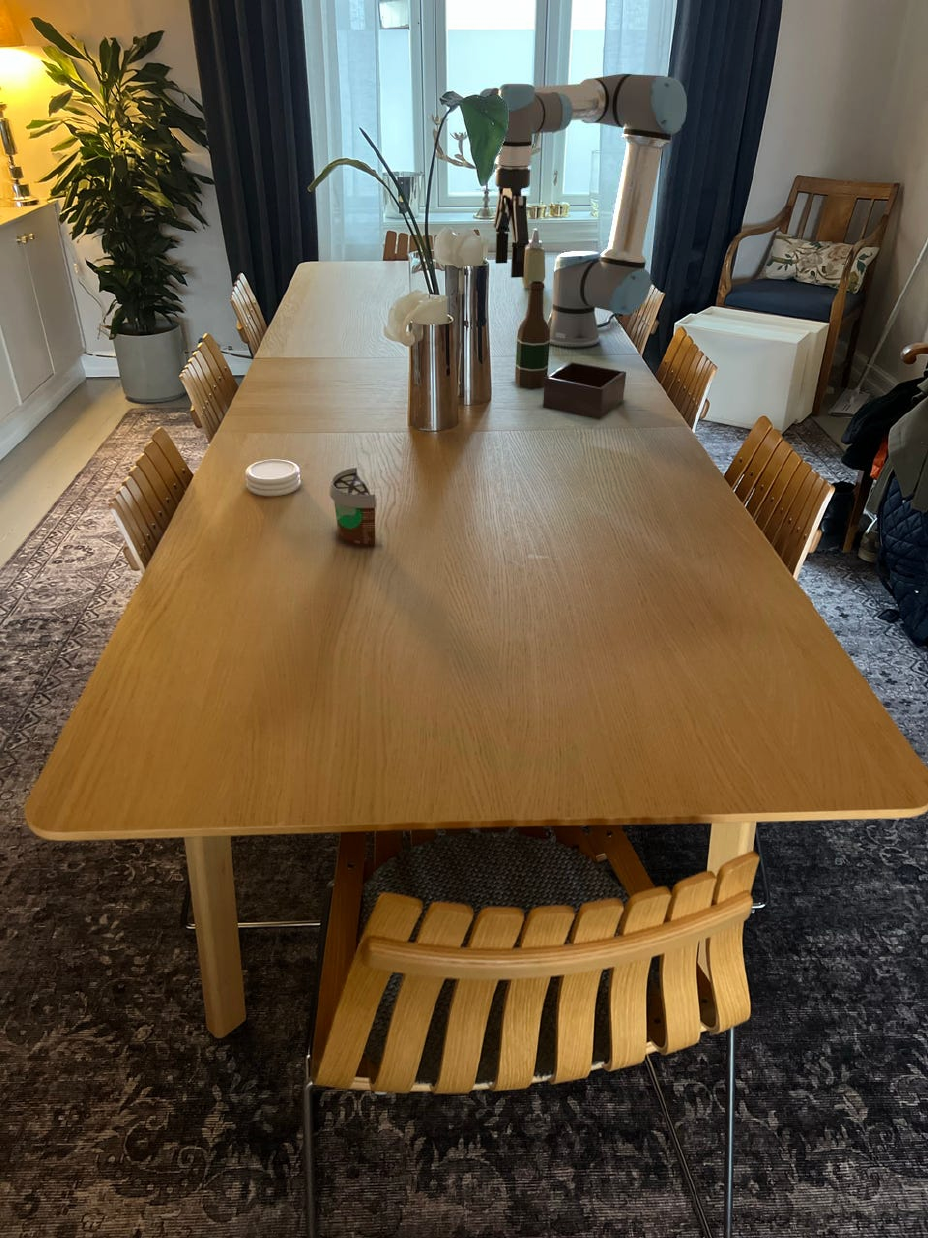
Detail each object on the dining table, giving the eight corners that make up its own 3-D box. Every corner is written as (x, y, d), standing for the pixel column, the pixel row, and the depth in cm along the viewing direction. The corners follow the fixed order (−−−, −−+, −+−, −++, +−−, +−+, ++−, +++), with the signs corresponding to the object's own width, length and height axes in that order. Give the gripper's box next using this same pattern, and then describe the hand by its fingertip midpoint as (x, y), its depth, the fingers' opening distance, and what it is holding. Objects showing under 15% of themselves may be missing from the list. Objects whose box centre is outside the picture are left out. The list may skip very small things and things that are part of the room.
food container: (324, 523, 168) (320, 470, 162) (358, 518, 170) (355, 466, 164) (341, 555, 158) (338, 500, 153) (377, 550, 160) (376, 495, 155)
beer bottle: (547, 379, 235) (554, 278, 222) (546, 390, 229) (553, 287, 216) (515, 378, 236) (520, 277, 223) (514, 388, 229) (519, 285, 216)
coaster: (309, 479, 183) (307, 462, 181) (287, 500, 175) (285, 483, 173) (261, 472, 185) (259, 455, 183) (237, 493, 177) (235, 476, 175)
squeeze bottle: (549, 286, 314) (552, 228, 304) (537, 291, 308) (540, 232, 298) (527, 283, 318) (530, 225, 308) (515, 288, 312) (518, 229, 302)
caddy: (568, 390, 229) (570, 361, 225) (623, 401, 224) (626, 371, 220) (542, 407, 219) (544, 377, 215) (599, 419, 213) (602, 389, 209)
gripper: (482, 158, 214) (479, 257, 225) (512, 175, 193) (507, 283, 205) (514, 158, 215) (510, 256, 227) (547, 175, 195) (541, 282, 206)
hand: (509, 269), depth 216 cm, fingers open, 13 cm apart
